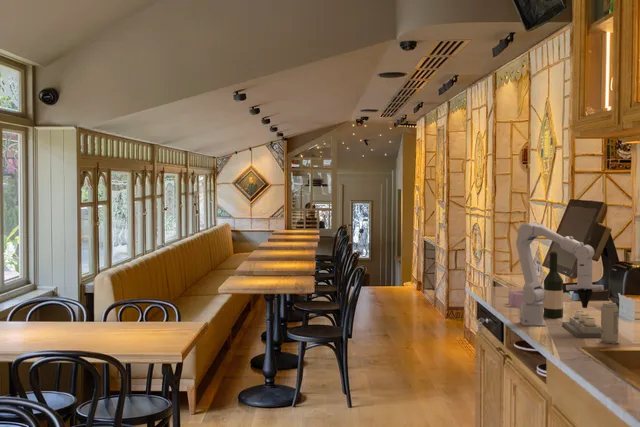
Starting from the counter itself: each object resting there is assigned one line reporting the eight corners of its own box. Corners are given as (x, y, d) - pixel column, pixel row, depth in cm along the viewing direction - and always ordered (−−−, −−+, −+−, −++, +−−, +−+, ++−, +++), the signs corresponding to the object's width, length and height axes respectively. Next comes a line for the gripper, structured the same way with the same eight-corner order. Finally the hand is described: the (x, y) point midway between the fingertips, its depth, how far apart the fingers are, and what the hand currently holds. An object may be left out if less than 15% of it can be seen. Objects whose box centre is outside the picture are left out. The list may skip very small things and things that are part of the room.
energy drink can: (603, 339, 261) (603, 301, 260) (620, 341, 257) (620, 303, 257) (598, 342, 256) (599, 303, 256) (615, 344, 253) (615, 305, 252)
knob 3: (586, 326, 266) (586, 319, 266) (583, 323, 270) (583, 317, 270) (596, 326, 266) (596, 319, 266) (593, 323, 270) (593, 317, 270)
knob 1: (576, 318, 280) (576, 312, 280) (573, 316, 284) (573, 310, 284) (585, 318, 280) (585, 312, 280) (583, 316, 284) (583, 310, 284)
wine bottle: (564, 318, 301) (564, 252, 299) (545, 318, 302) (545, 252, 301) (561, 315, 309) (561, 250, 307) (542, 314, 310) (542, 250, 309)
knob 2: (581, 322, 273) (581, 315, 273) (578, 320, 277) (578, 313, 277) (591, 322, 273) (591, 315, 273) (588, 320, 277) (588, 313, 277)
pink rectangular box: (549, 304, 336) (549, 290, 336) (552, 309, 324) (552, 295, 324) (507, 303, 340) (507, 290, 340) (510, 308, 328) (510, 294, 327)
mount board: (577, 337, 265) (577, 327, 265) (562, 325, 287) (562, 316, 286) (608, 337, 264) (608, 327, 264) (591, 325, 286) (591, 316, 285)
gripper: (569, 276, 271) (569, 309, 271) (606, 276, 269) (606, 309, 270) (564, 273, 278) (564, 306, 278) (600, 273, 276) (600, 306, 277)
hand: (584, 307), depth 275 cm, fingers closed
